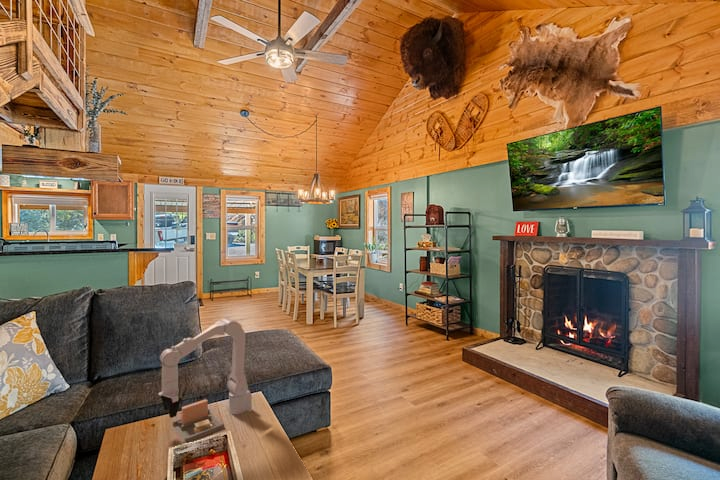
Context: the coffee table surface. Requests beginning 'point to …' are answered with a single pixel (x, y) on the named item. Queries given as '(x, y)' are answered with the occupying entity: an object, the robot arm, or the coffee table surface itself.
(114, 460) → the coffee table surface
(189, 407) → the panel
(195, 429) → the block
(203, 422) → the offcut top
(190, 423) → the rack
